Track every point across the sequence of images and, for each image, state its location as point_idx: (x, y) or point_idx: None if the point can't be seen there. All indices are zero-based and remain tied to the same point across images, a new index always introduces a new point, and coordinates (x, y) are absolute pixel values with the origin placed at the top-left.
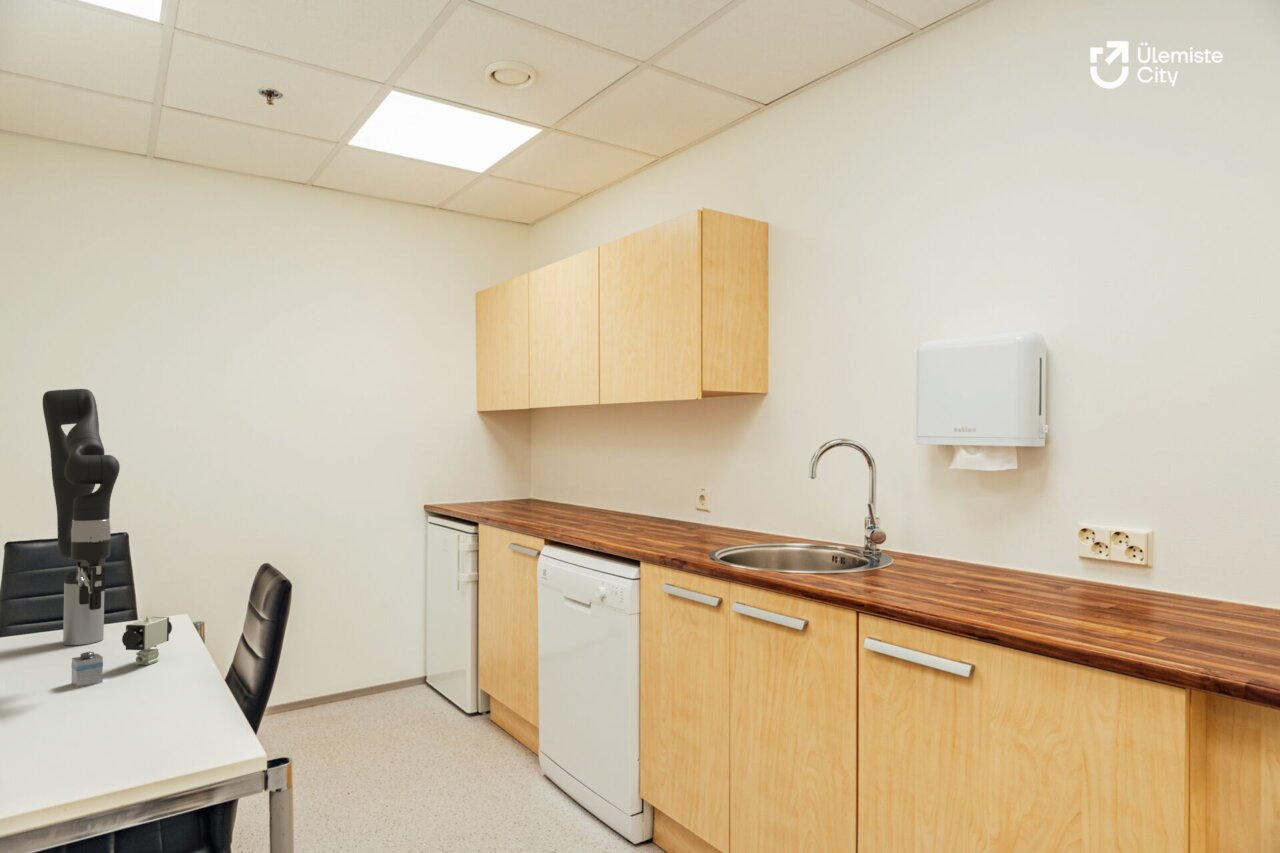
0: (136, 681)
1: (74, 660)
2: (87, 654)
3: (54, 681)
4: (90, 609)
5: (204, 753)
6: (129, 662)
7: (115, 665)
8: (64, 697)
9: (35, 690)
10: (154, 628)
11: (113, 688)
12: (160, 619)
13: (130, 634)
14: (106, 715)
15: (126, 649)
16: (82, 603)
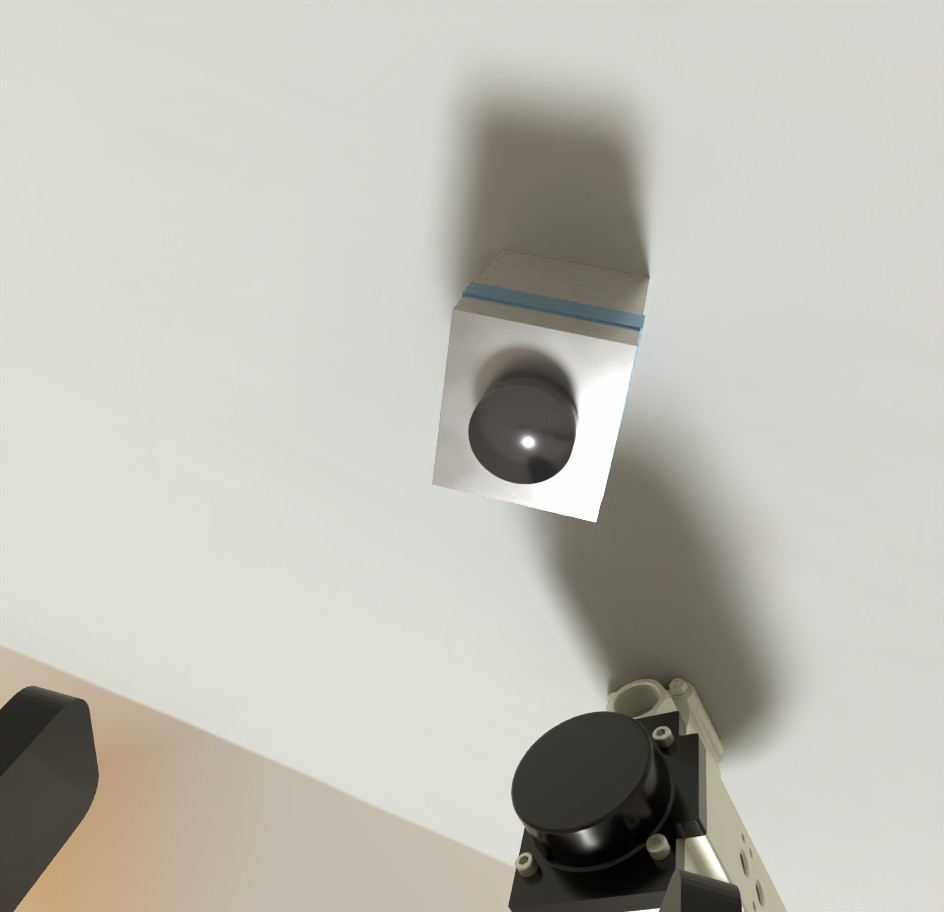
0: (321, 498)
1: (539, 325)
2: (477, 418)
3: (841, 229)
4: (29, 688)
5: None
6: (807, 698)
7: (827, 630)
8: (318, 95)
9: (714, 27)
10: None
11: (278, 365)
12: None
13: (570, 801)
14: None
15: (670, 712)
16: (667, 899)
